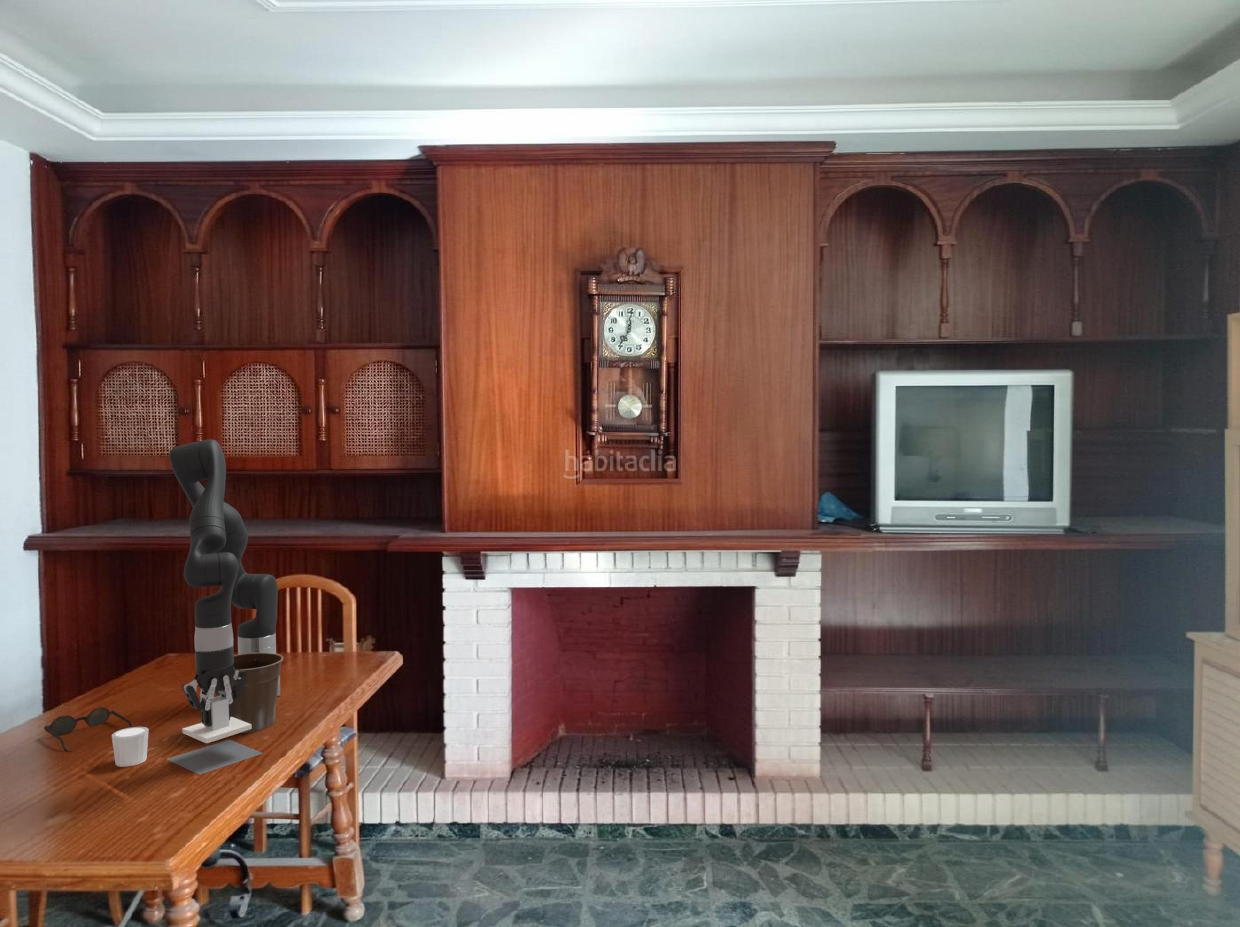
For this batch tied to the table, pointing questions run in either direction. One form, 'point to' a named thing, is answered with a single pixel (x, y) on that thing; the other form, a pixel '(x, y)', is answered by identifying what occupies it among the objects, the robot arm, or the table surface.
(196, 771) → the mat
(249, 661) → the plant pot
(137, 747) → the shot glass
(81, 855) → the table surface
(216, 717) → the lid
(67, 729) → the eyeglasses
